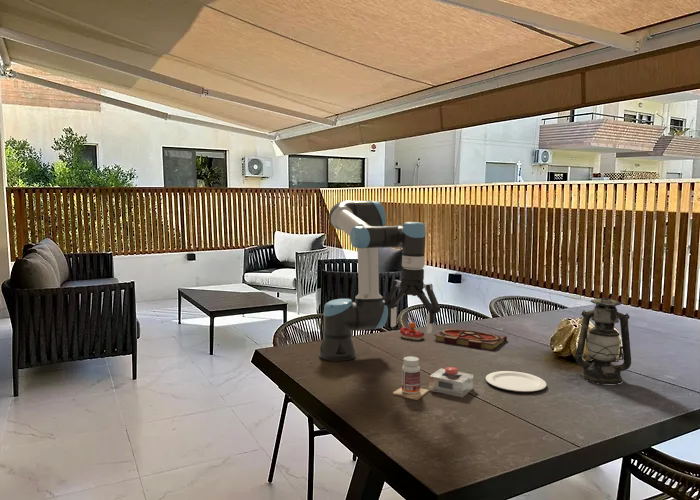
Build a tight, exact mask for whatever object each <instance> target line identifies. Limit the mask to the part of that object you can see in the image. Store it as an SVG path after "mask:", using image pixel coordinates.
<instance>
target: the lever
mask: <svg viewBox="0 0 700 500" xmlns="http://www.w3.org/2000/svg"><path fill="white" fill-rule="evenodd" d="M444 369H445V373H447V374H448V377H452V378H455V374H458V372H459V369H458V367H454V366H446V367H445V368H444Z"/></svg>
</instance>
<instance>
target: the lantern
mask: <svg viewBox="0 0 700 500" xmlns="http://www.w3.org/2000/svg"><path fill="white" fill-rule="evenodd" d="M590 303H592V304H595V306H594V308H593V309H592V310H588V311H586V310H584V309H583V310H582V312H581V316H582V321H581V325H580V326H581V327H580V331H579V337H578V341H577V345H576V346H577V347H576V351H575V352H576V353H575V356H574V358H575V362H576V364H578V365H579V366H580V367H581V368H583V369H582V371H581V372H580V374H579V377H580V376H581V377H582V378H584V379H585V380H584V379H583V380H584V381H586V380H588V381H591V382H594V383H593V384H595V383H599V384H598V385H601V384H618V383H621V382H622V381H623V378H622V376H621V374H622V373H621V372H624V371H626V370H628V369H630V367H631V364H632V355H631V354H632V353H631V344H630V343H631V341H630V331H629V328H630V327H629V319H630V315H629V313H627V312H626V314H624V313H622V312H619V311H618V308H617V306H621V305H623V304H622V302H621V301H618V300H615V299H610V298H594V299H592V300H590ZM591 320H592V321H593V322H594V327H591V328H590V329H589V325H590V321H591ZM617 323H619V325H620V332H621V333H620V332H618V330H617V329H615V324H617ZM620 335H621V341H620ZM621 344H622V345H621ZM585 345H586V346H585ZM620 345H621V346H620ZM585 347H586V350H587V353H588V354H586V353H584V350H585ZM617 357H618V359H617ZM586 358H587V359H588V360H591V361H592V360H593V361H592V362H588V361H586V360H584V359H586ZM619 361H623V363H622V364H617V365H612V364H611V363H618V362H619ZM581 377H580V378H581ZM582 378H581V379H582ZM588 381H587V382H588ZM591 382H590V383H591ZM623 382H624V381H623Z"/></svg>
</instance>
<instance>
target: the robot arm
mask: <svg viewBox="0 0 700 500" xmlns="http://www.w3.org/2000/svg"><path fill="white" fill-rule="evenodd" d="M386 214H387V213H386V211H385V208H384V205H383V204H382V203H381V202H379V201H378V200H377V201H376V200H343V201H340V202H337V203H335V204H334V205H333V206H332V207H331V208H330V210H329V213H328V221H329V222H330V224H331V225H332V227H333V228H335V229H337V230H338V231H339V230H340V231H343V232H344V234H346V235H348V236H349V238H350V239H349V240H350V243H351V246H352V247H353V248H355V249H357V270H358V271H357V273H358V274H357V275H358V276H357V278H358V282H357V283H358V285H357V286H358V294H357V295H355V298H354V301H353V300H352V299H351V298H337V299H336V298H335V299H331V300H329V301H328V302H326V303H325V304H324V306H323V314H322V315H323V338H322V342H321V345H320V347H319V351H318V352H319V355H318V356H319V357H320V358H321V359H322V360H327V361H332V362H333V361H334V362H342V361H344V362H345V361H349V360H352V359H355V357H356V348H355V345H354V342H353V337H352V336H353V335H352V333H353V332H352V331H363V330H376V329H382V328H383V327H384V326H385V325H386V323H387V321H388V317H390V327H391V328H395V327H396V326H397V308H398V307H397V306H396V305H397V304H398V303H399V302H400V301H401V299H403V297H404V296H405V295H406V296H413V297H417V298H418V299H419V300H420V301H421V303H422V304H423V306H424V307H425V309H426V310H427V312H428V313H427V315H426V334H431V333H432V332H433V324H434V323H435V321H436V314H439V313H440V312H441V310H442V309H441V307H440V304H439V303H438V300H437V297H436V294H435V292H434V289H433V287H434V286H433V284H432V283H427V284H425V283H424V279H425V270H424V268H425V252H426V250H425V249H426V235H427V233H426V224H425V223H424V222H422V221H421V222H419V221H405V222H404V223H403V225H399V224H398V225H386V223H387V215H386ZM380 248H381V249H382V248H384V249H385V248H389V249H391V248H401V249H402V252H401V258H402V259H401V267H402V268H401V276H400V277H401V280H399V279H395V280H392V285H391V289H390V290H389V292H388V294H387V296H386V298H385V300H384V299H383V296H382V295H381V294H380V291H379V290H380V285H379V281H380V280H379V249H380ZM399 287H401V288H402V289H401V290H400V291H399V292H398V294H397V295H396V293H397V291H398V289H399ZM424 290H425V291H426V294H427V296H428V297H427V296H426V294H425V292H424ZM395 295H396V296H395ZM394 297H395V298H394Z"/></svg>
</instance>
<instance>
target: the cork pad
mask: <svg viewBox="0 0 700 500" xmlns="http://www.w3.org/2000/svg"><path fill="white" fill-rule="evenodd" d="M429 391H430V390H429V389H427V388H422V387H420V391H419V393H416V394H407V393H404V392H403V391H402V386H401V387H399V388H397V389H396V390H395V391H392V395H395V396H398V397H401V398H407V399H412V400H416V401H417V400H419V399H421V398H422V397H424V396H425V395H426V394H427V393H429Z"/></svg>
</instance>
